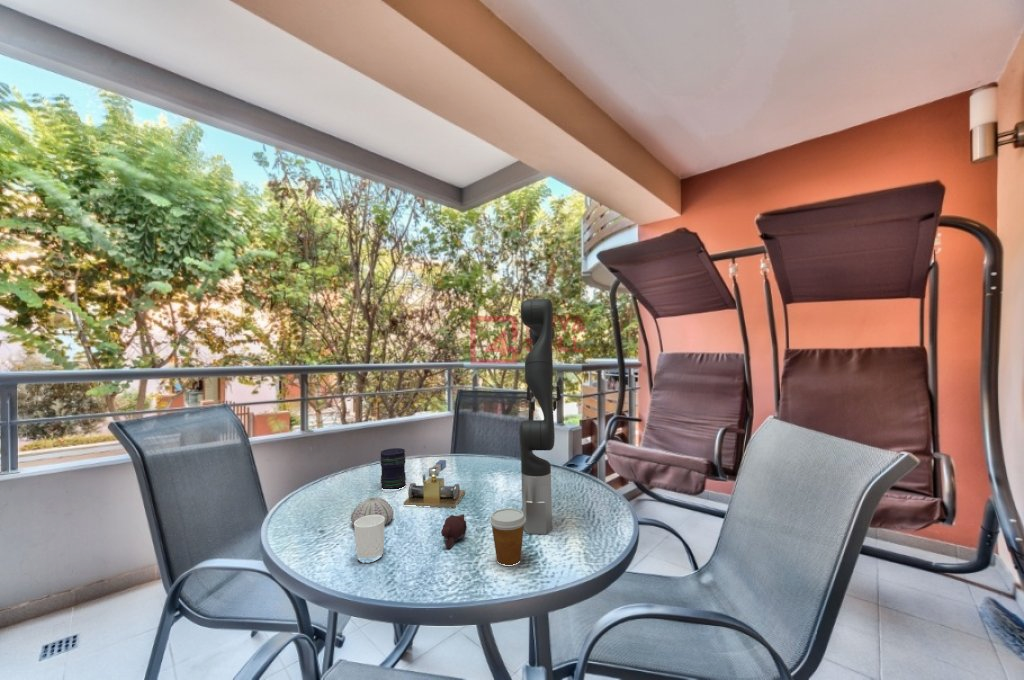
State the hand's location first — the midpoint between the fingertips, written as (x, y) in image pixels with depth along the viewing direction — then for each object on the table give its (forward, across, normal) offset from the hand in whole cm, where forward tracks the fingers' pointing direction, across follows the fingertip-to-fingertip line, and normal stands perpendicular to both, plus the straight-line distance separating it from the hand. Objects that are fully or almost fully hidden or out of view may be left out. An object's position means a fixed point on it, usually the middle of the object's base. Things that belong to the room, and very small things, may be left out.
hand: (544, 410), depth 171 cm
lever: (+20, -40, -21) cm, 49 cm away
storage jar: (+30, -62, -13) cm, 70 cm away
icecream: (+30, -24, -54) cm, 66 cm away
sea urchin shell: (+30, -54, -46) cm, 77 cm away
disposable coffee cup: (+30, -6, -65) cm, 72 cm away
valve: (+29, -40, -25) cm, 55 cm away
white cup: (+30, -44, -67) cm, 85 cm away
